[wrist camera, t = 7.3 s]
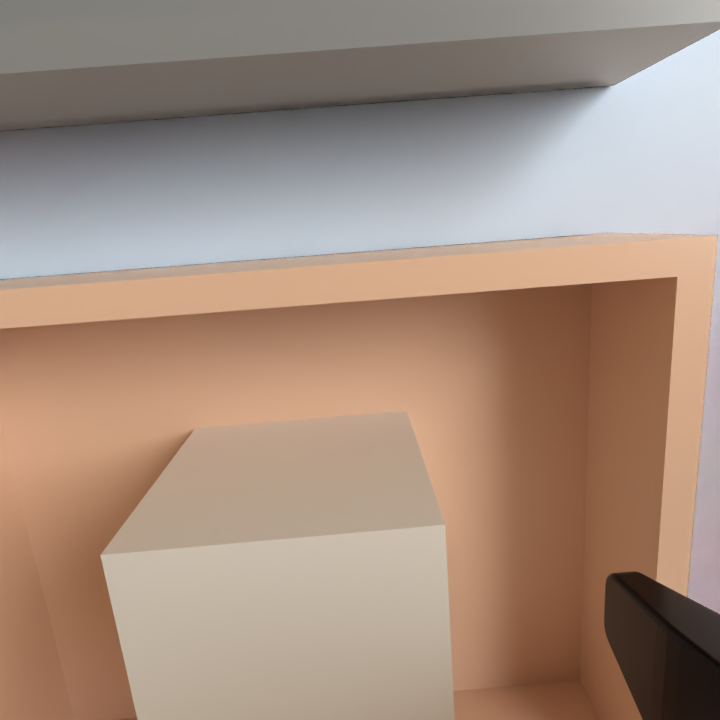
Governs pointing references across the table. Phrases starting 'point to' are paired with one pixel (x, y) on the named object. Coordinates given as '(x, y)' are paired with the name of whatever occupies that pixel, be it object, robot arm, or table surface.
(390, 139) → the table surface
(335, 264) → the bin
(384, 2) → the bin
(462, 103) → the table surface
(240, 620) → the beige cube
